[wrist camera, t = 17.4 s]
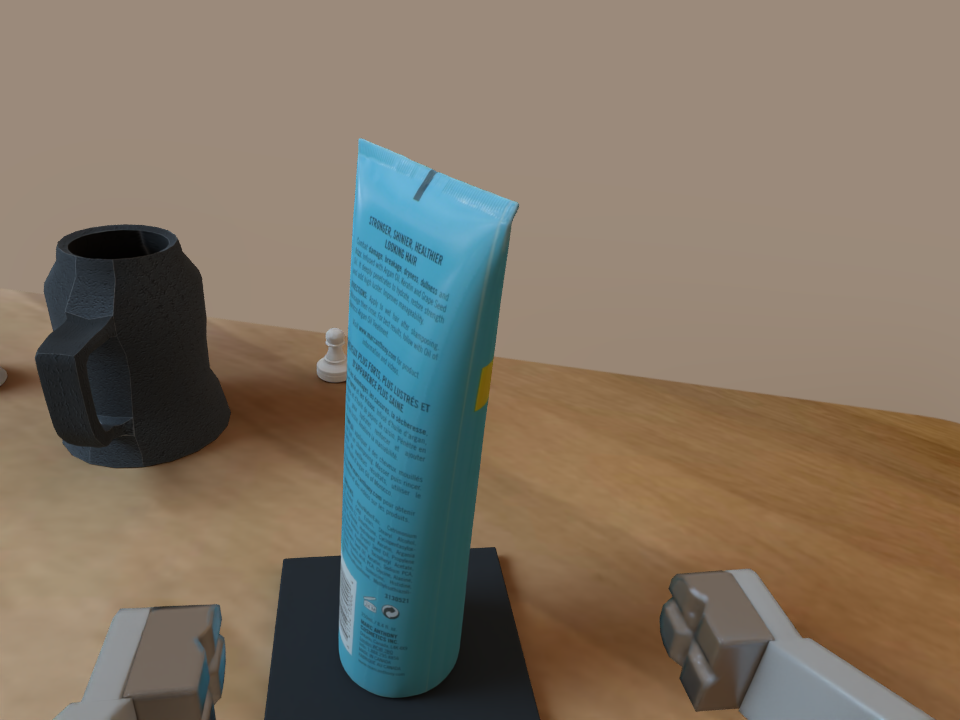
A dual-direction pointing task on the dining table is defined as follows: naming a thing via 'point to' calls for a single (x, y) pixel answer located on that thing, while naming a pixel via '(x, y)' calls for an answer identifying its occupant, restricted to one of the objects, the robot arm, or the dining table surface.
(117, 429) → the mug
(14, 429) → the dining table surface
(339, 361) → the chess pawn
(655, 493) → the dining table surface
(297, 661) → the coaster
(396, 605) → the tube
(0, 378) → the chalice
